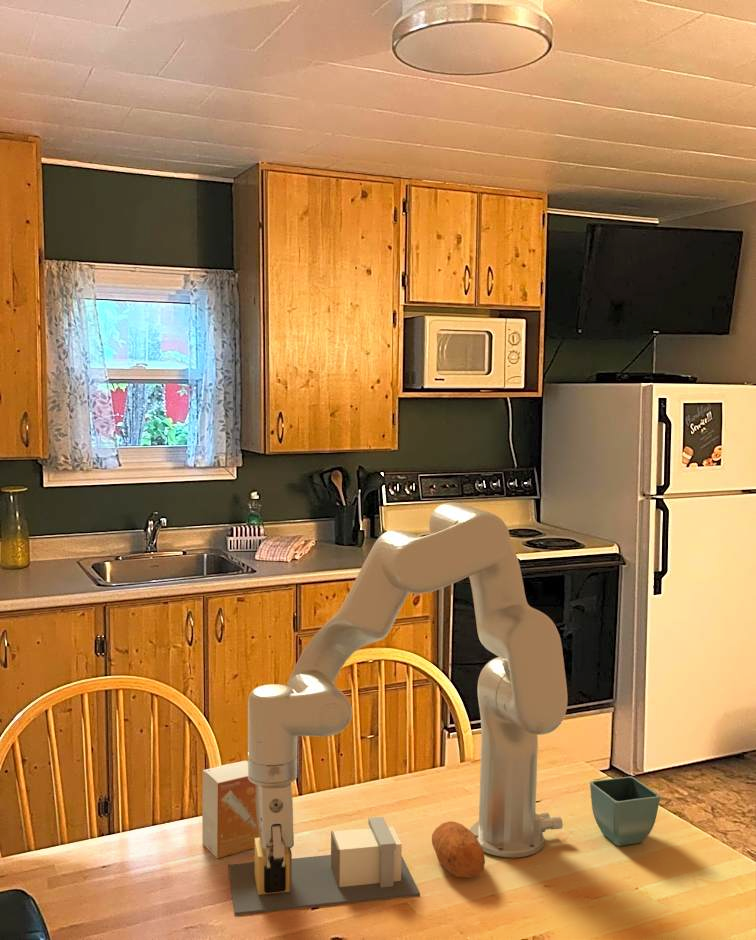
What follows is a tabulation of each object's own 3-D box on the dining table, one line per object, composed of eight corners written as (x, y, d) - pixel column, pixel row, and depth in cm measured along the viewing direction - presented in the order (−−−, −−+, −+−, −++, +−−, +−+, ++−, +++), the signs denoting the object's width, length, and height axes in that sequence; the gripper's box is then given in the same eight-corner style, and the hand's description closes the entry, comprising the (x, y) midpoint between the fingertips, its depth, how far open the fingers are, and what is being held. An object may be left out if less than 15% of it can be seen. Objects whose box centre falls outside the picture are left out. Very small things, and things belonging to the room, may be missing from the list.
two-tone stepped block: (389, 857, 157) (390, 816, 157) (403, 886, 149) (404, 842, 148) (329, 863, 155) (329, 821, 154) (339, 892, 146) (339, 848, 146)
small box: (217, 860, 156) (217, 783, 155) (201, 843, 162) (201, 769, 160) (262, 847, 161) (262, 772, 160) (245, 831, 166) (245, 759, 165)
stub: (286, 871, 152) (286, 834, 152) (291, 891, 146) (291, 853, 146) (254, 874, 151) (254, 837, 151) (258, 895, 145) (258, 856, 145)
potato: (445, 890, 148) (446, 846, 148) (425, 850, 161) (426, 809, 160) (490, 886, 150) (491, 842, 149) (466, 846, 162) (467, 806, 161)
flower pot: (630, 823, 171) (632, 775, 170) (659, 846, 163) (661, 796, 162) (586, 830, 169) (588, 780, 168) (614, 854, 160) (616, 802, 159)
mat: (398, 850, 160) (398, 848, 160) (419, 895, 147) (420, 893, 147) (228, 867, 154) (228, 864, 154) (234, 915, 141) (234, 912, 141)
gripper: (305, 789, 139) (304, 907, 141) (290, 744, 156) (289, 850, 158) (253, 793, 138) (253, 913, 139) (243, 747, 154) (243, 854, 156)
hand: (272, 878), depth 149 cm, fingers closed on stub, 6 cm apart
